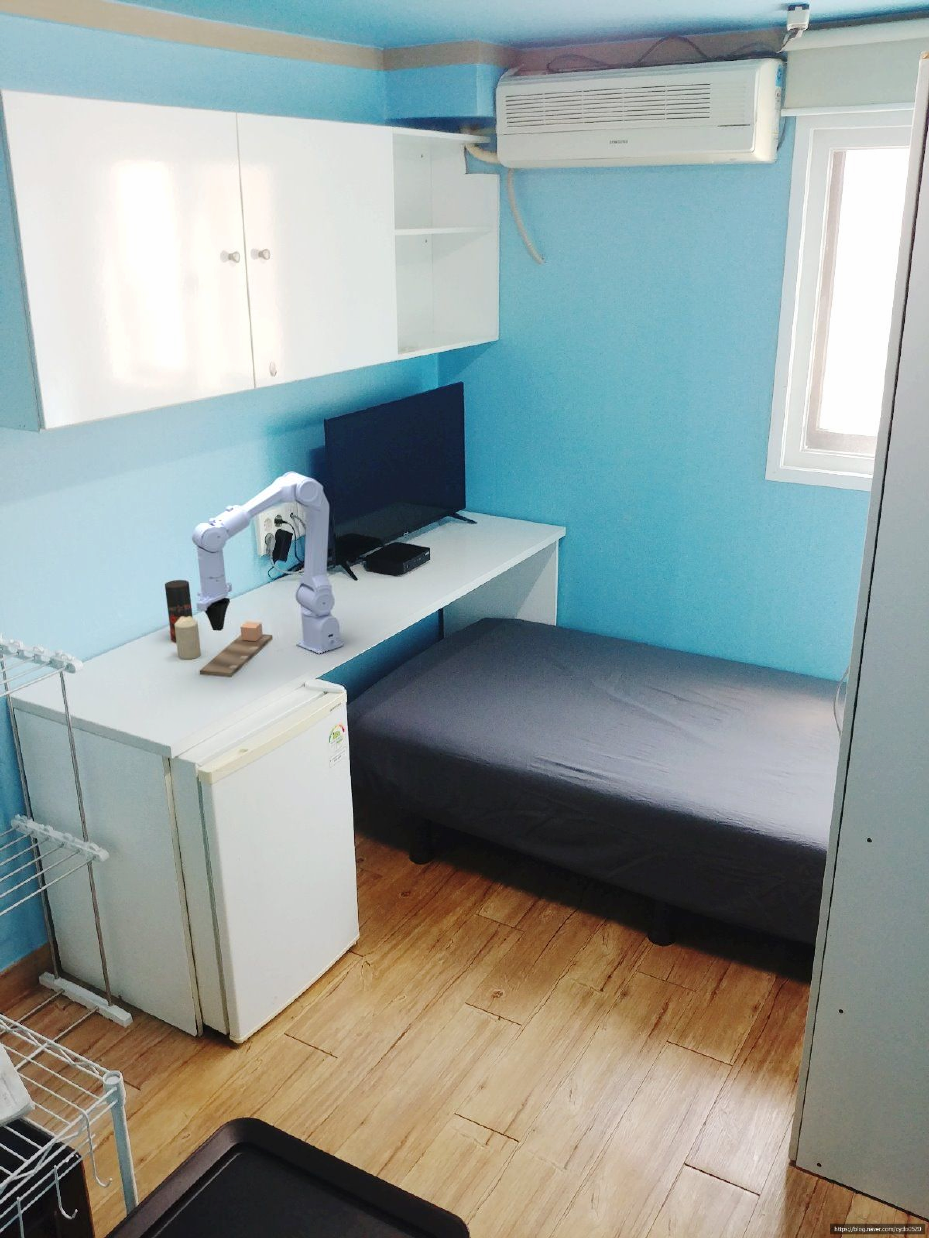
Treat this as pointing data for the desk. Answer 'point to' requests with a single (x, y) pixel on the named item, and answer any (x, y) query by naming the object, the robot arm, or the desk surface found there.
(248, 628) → the peach colored cube
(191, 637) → the candle
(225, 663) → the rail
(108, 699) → the desk surface
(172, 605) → the deodorant
